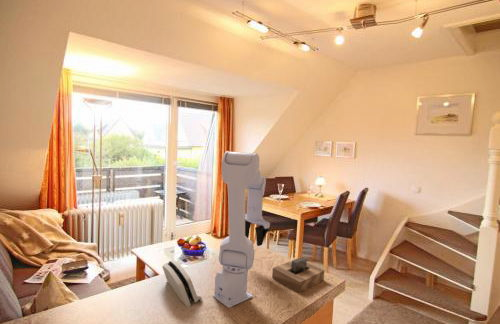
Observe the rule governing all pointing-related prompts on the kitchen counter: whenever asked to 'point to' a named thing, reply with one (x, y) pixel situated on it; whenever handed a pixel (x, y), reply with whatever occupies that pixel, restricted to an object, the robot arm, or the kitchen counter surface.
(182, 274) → the white game console
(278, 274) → the slotted wooden block
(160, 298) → the kitchen counter surface
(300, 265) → the grey rectangular block
